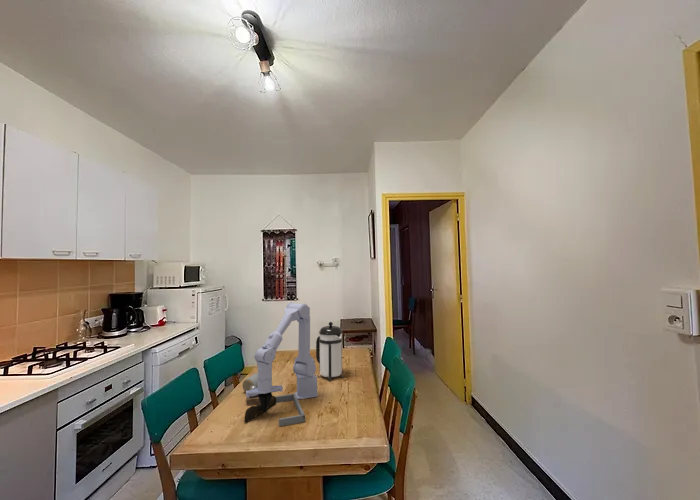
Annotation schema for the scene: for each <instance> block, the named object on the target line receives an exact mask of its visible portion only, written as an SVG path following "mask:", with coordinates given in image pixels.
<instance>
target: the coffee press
mask: <svg viewBox="0 0 700 500" xmlns="http://www.w3.org/2000/svg"><path fill="white" fill-rule="evenodd" d="M318 334H319V336H318V337H317V338H316V340H315V341H316V342H315V356H316V357H315V359H316V361H317V363H318V365H319V370H318V371H319V372H318V374H317V375H316V377H317V378H320V377H322V376H323V377H324V378H328V382H332V378H336V377H339V376H340V377H341V378H344V377H345V373H344V372H343V337H342V336H343V330H342V328H341V327H340V326H338V325H333V321H330V322H328V325H325V326H322V327H321V328H320V329H319V330H318ZM319 374H320V375H319Z"/></svg>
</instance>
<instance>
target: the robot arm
mask: <svg viewBox="0 0 700 500" xmlns="http://www.w3.org/2000/svg"><path fill="white" fill-rule="evenodd" d="M310 311H311V308H310V307H309V305H308V304H306V303H297V302H295V303H294V302H289V303H288V304H286V306H285V308H284V310H283V312H284V313H283V316H282V317H281V320H280V322H279V324H278V326H277V327H276V329H275V331H272V332H271V333H270V334H269V335H268V337H267V338H266V341H265V342H264V343H263V345H262V346H261V347H260V348H258V349H257V350H256V352H255V355H254V356H253V357H254V360H255V362H256V366H257V373H258V388H256V389H253V390H249V391H246V392H245V397H249V396H255V395H258V397H259V399H260V402H261V405H262V411H263V412H262V414H265V413H268V409H269V407H268V404H269V402H270V400H271V398H272V396H273V393H277V392H280V393H281V392H283V385H280V384H279V385H273V381H272V380H273V362H274V361H275V359H276V353H277V349H278V348H279V347H280V346H281V345H280V344H281V343H282V341H283V335H284V333H285V332H286V330H287V329H288V328H289V326H290V325H291V324H292V322H295V321H296V322H298V349H297V350H298V351H297V352H298V353H297V354H298V355H297V356H296V358H294V363H293V367H292V370H293V373H294V374H295V377H296V391H295V392H294V394H295V395H296V397H297V399H298V400H304V399H309V398H310V399H312V398H318V376H317V375H316V371H317V367H316V364H315V359H314V358H313V356H311V316H310V315H311V312H310Z"/></svg>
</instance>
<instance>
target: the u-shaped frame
mask: <svg viewBox="0 0 700 500" xmlns="http://www.w3.org/2000/svg"><path fill="white" fill-rule="evenodd" d="M274 396H275V397H276V404H277V403H283V402H284V403H285V402H290V401H291V402H292V401H293V404H294V406H295V409H296V410H297V413H298V414H297V415H292V416H287V417H281V418H278V427H284V426H290V425H296V424H301V423H305V422H306V414H305V412H304V410H303V408H302V405H301V404H300V401H299V399H297V397H296V395H295V393H289V394H283V395H274Z"/></svg>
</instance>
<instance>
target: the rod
mask: <svg viewBox="0 0 700 500" xmlns="http://www.w3.org/2000/svg"><path fill="white" fill-rule="evenodd" d="M253 389H256V385H252V386H251V387H250V390H253ZM250 398H256V395H255V396H250Z"/></svg>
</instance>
